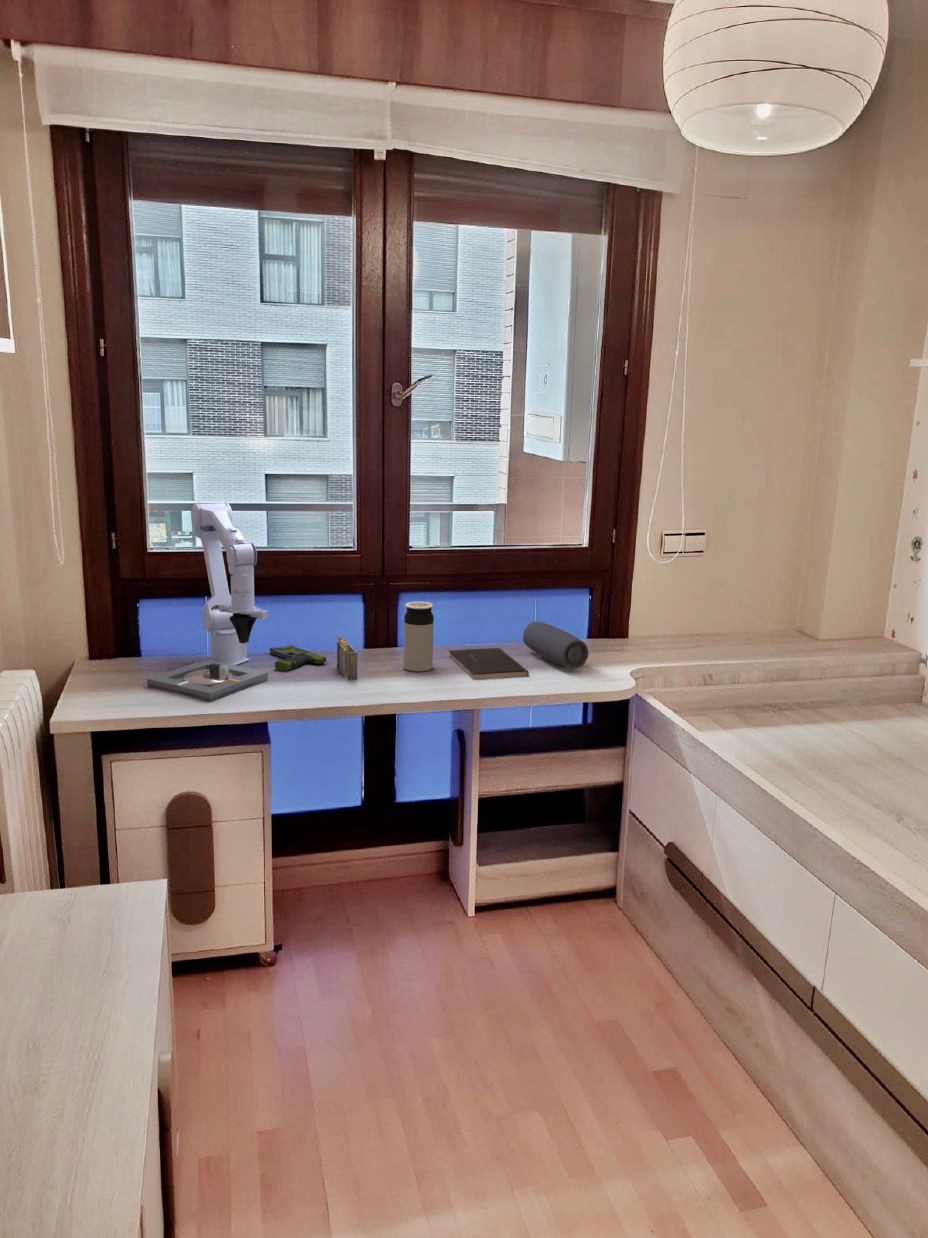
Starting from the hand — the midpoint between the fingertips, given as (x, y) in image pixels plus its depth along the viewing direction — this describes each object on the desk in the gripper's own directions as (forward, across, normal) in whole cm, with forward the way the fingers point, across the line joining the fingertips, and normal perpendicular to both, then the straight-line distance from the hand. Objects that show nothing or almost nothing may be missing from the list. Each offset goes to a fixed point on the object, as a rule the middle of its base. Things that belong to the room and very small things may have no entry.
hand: (243, 642), depth 244 cm
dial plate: (+10, -5, -8) cm, 14 cm away
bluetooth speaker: (+10, +61, +61) cm, 87 cm away
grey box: (+11, +19, +19) cm, 29 cm away
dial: (+9, -5, -8) cm, 13 cm away
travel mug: (+10, +32, +34) cm, 48 cm away
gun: (+10, -2, +20) cm, 22 cm away
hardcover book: (+11, +47, +47) cm, 67 cm away
